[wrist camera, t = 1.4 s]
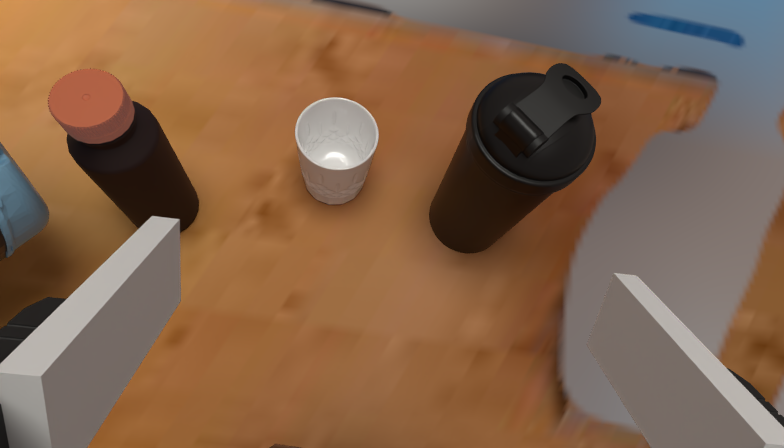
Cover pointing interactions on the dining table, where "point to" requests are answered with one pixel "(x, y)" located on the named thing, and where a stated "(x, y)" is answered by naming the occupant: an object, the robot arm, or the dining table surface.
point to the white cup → (335, 148)
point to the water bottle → (514, 155)
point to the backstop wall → (282, 446)
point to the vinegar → (122, 148)
